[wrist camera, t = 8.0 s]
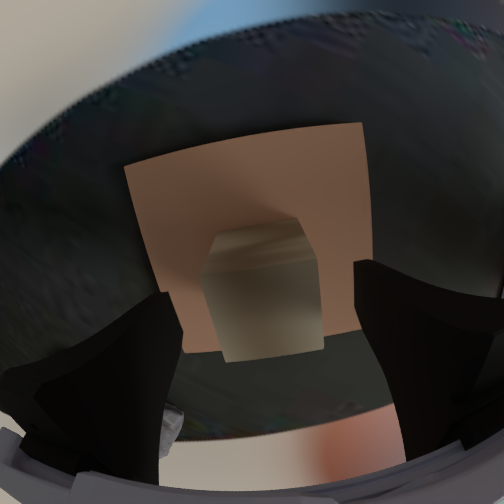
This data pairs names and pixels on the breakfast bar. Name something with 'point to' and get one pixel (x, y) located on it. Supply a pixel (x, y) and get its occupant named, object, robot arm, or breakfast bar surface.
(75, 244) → the breakfast bar surface
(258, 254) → the birch block
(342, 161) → the terracotta tile
